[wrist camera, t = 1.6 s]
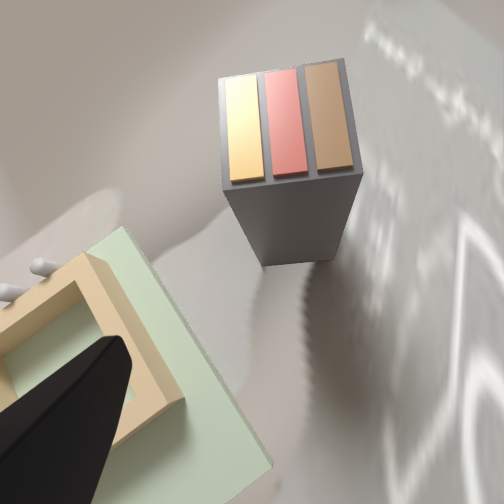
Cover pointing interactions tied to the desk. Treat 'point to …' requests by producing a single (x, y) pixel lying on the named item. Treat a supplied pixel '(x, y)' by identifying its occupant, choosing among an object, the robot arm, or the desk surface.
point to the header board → (134, 376)
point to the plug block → (290, 159)
